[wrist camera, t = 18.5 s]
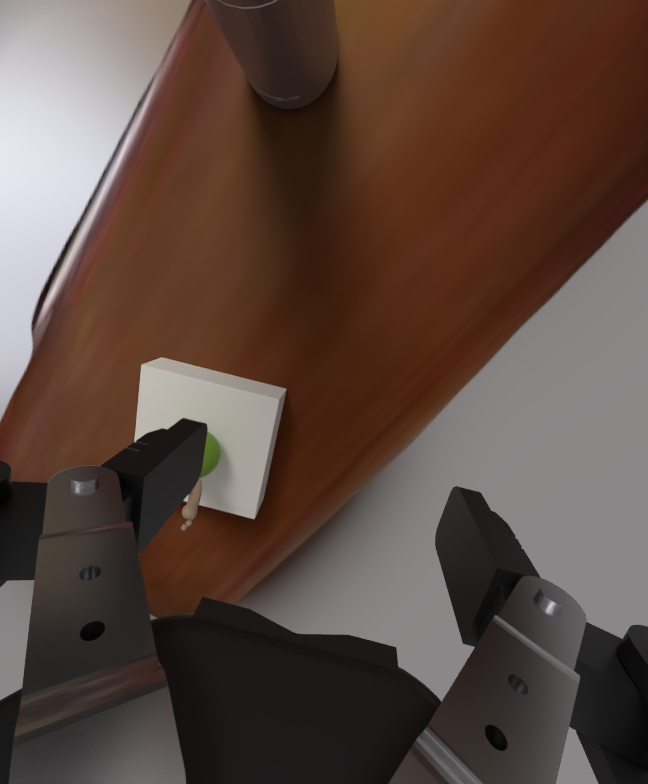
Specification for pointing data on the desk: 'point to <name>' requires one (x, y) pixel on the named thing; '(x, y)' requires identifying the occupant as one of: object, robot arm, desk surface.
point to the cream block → (217, 426)
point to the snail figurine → (209, 465)
